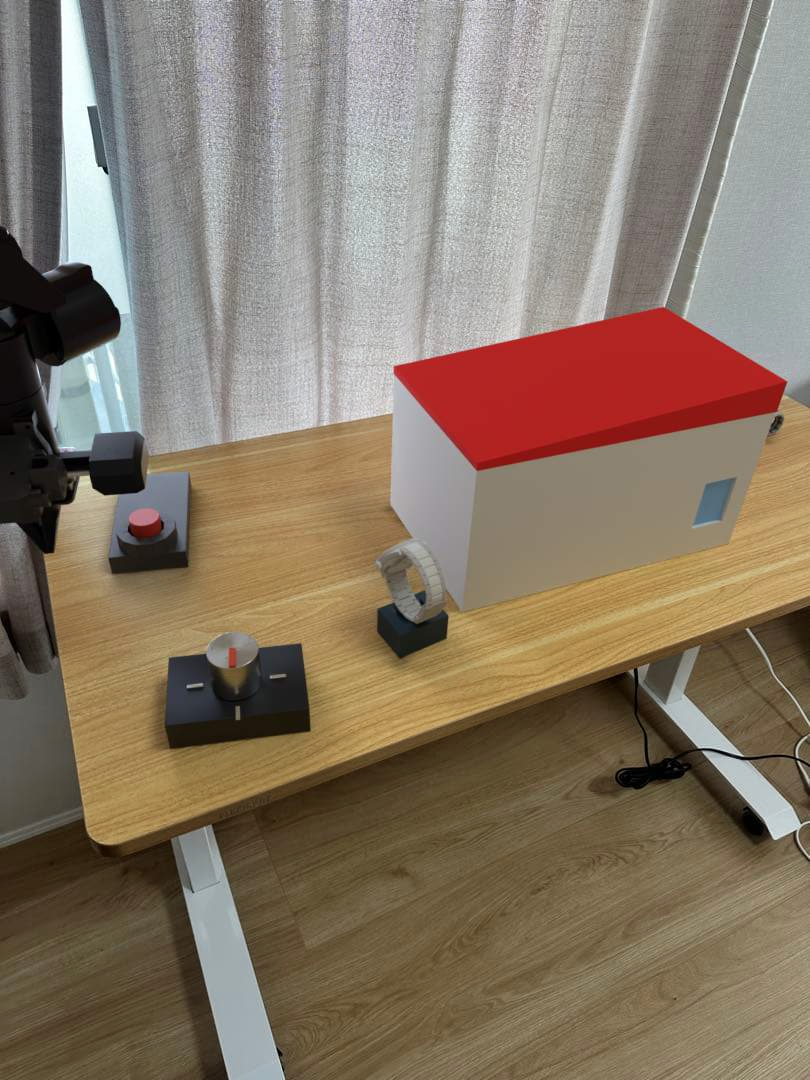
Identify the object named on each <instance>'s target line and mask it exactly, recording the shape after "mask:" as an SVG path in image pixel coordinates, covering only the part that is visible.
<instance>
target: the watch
mask: <svg viewBox="0 0 810 1080" xmlns="http://www.w3.org/2000/svg"><path fill="white" fill-rule="evenodd" d="M432 565H433V566H432ZM412 566H414V568H415V569H416V572H417V573H418V575H419V577H420V580H421V583H422V585H423V586H424V590H421V591H419V592H416V593H414V592H413V589H412V587H411V584H410V581H409V577H408V573H407V570H410V569H411V568H412ZM374 567H375V569H376V570H377V571H379V572H380V576H381V577H382V579H384V581H385V585H386V587H387V590H388V593H389V595H390V597H391V600H392V602H391V603H388V604H386V605H383V606H380V607H378V608H377V610H376V611H377V613H376V615H377V616H376V632H377V633H378V635H379V636H380V637H381V639H383V641H384V642H385V643H386V645H388V647H389V648H390V649H391V650H392V651H393V653H394V654H395V655H396V656H397V658H398V659H402V658H405V657H407V656H410V655H412V654H414V653H416V652H419V651H421V650H423V649H425V648H428V647H430V646H433V645H435V644H438V643H440V642H442V641H444V640H446V639H447V638H448V630H449V629H448V628H449V616H450V615H449V614H448V613H447V612H446V611H445V610H444V609H445V607H446V604H447V600H448V599H446V598H447V589H446V585H445V580H444V576H443V572H442V570H440V569H441V566H440V564H439V562H438V560H437V558H436V556H435V555H434V553H433V552H432V550H431V549H430V548H429V547H428V546H427V543H426V542H425V541H422V539H421V538H408V539H405V540H403V541H401V542H399V543H396V544H394V545H393V546H391V547H389V548H388V549H386V550H385V551H384V552H382V553H381V554H380V555H379V556H378V557H377V558H376V560H375V562H374Z"/></svg>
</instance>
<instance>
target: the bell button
mask: <svg viewBox="0 0 810 1080" xmlns="http://www.w3.org/2000/svg"><path fill="white" fill-rule="evenodd" d="M128 520H129V525H130V529H131V533H132V535H133V536H134V537H138V538H147V537H152V536H154V535H157V534H159V533H160V532H161V530H162V526H161V520H160V515H159V513H158V512H157V511H156V510H153V509H140V510H137V511H135V512H133V513H132V514H131V515H130V516H129V519H128Z"/></svg>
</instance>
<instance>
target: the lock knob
mask: <svg viewBox="0 0 810 1080" xmlns="http://www.w3.org/2000/svg"><path fill="white" fill-rule="evenodd" d="M259 648H260V646H259V643H258V640H256V638H255V637H253V635H251V634H249V633H246V632H243V631H229V632H224V633H222V634H219V635H218V636H216V637H215V638H213V639H212V640H211V641H210V642H209V643H208V645H207V647H206V650H205V654H206V656H207V662H208V668H209V674H210V681H211V686H212V690H213V691H214V693H215V694H216V695H217V696H218V697H220V698H222V699H225V700H230V701H237V700H242V699H245V698H248V697H250V696H252V695H253V694H254V693H256V692H257V691H258V689H259V688H260V686H261V684H262V673H261V663H260V654H259Z"/></svg>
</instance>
